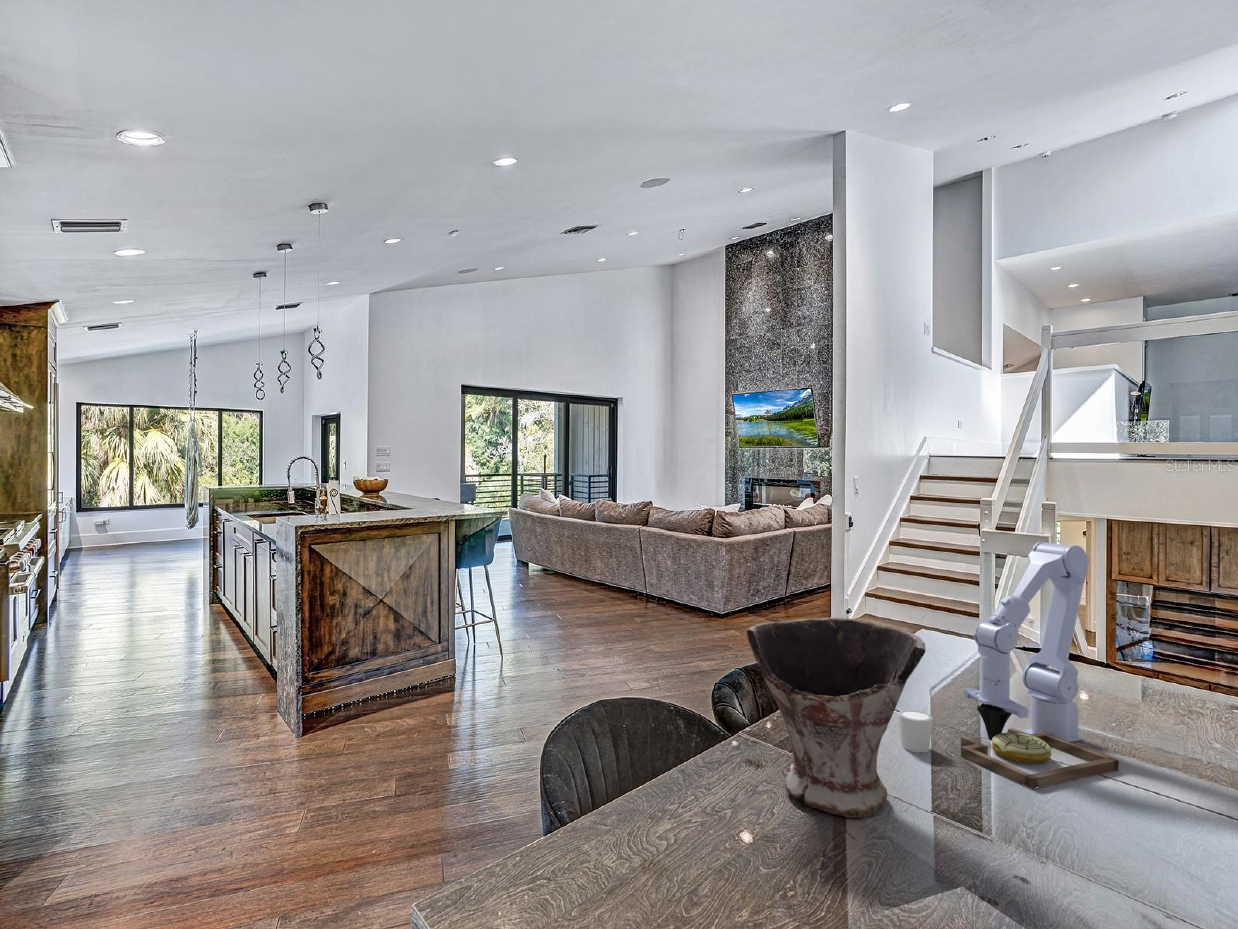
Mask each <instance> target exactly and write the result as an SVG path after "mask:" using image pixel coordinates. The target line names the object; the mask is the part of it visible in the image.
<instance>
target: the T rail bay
mask: <svg viewBox="0 0 1238 929" xmlns="http://www.w3.org/2000/svg"><path fill="white" fill-rule="evenodd" d="M1008 732H1011V733H1023V734H1027V733H1024V732H1022V730H1018V729H1016V728H1013V727H1012V728H1007V733H1008ZM1028 735H1032V736H1035V737H1037V738H1039V739H1041V740H1043V741H1045V742H1046V743H1047V744H1048V745H1049V746H1050V748H1053V749H1056V750H1058V749H1059V750H1058V751H1061V752H1063V753H1066V754H1068V753H1069V754H1068V755H1072V756H1074V757H1076V756H1078V757H1077V758H1079V759H1082V760H1085V761H1086V760H1088V761H1087V762H1083V763H1077V764H1073V765H1068V766H1064V767H1059V768H1053V769H1049V770H1044V771H1040V772H1036V773H1029V772H1026V771H1024V770H1022V769H1020V768H1017V767H1015V766H1014V765H1010V764H1008V763H1006V762H1004V761H1002V760H999V759H997V758H995V757H993V756H991V755H989V745H987V744H985V743H982V742H980V741H978V740H975V739H974V738H971V737H968V736H966V735H965V736H960V757H962V758H963V759H965V760H968V761H970V762H972V763H974V764H977V765H979V766H981V767H983V768H986V769H988V770H989V771H992V772H994V773H996V774H998V775H1001V776H1002V777H1004V778H1007V779H1009V780H1012V781H1013V780H1015V781H1017V782H1019V783H1018V784H1020V785H1022V784H1024V785H1026V786H1028V787H1030V788H1032V789H1031V790H1034V789H1033V788H1036V787H1041V788H1043V787H1042V786H1046V785H1050V786H1052V785H1051V784H1054V785H1058V784H1062V783H1067V782H1066V781H1068V782H1071V781H1070V780H1072V781H1075V780H1081V779H1085V778H1089V777H1093V776H1097V775H1102V774H1106V773H1111V772H1115V771H1119V769H1120V768H1119V766H1120V765H1119V763H1120V762H1119V759H1116V758H1114V757H1112V756H1108V755H1106V754H1103V753H1101V752H1098V751H1096V750H1092V749H1091V748H1087V747H1085V746H1081V745H1079V744H1076V743H1073V742H1069V741H1066V740H1063V739H1061V738H1058V737H1055V736H1053V735H1050V734H1047V733H1045V732H1040V733H1034V734H1028ZM1089 761H1090V762H1089ZM1084 777H1085V778H1084ZM1080 778H1081V779H1080ZM1015 781H1014V782H1015ZM1017 782H1016V783H1017ZM1024 785H1023V786H1024ZM1026 786H1025V787H1026ZM1028 787H1027V788H1028ZM1046 787H1047V786H1046ZM1030 788H1029V789H1030Z"/></svg>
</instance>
